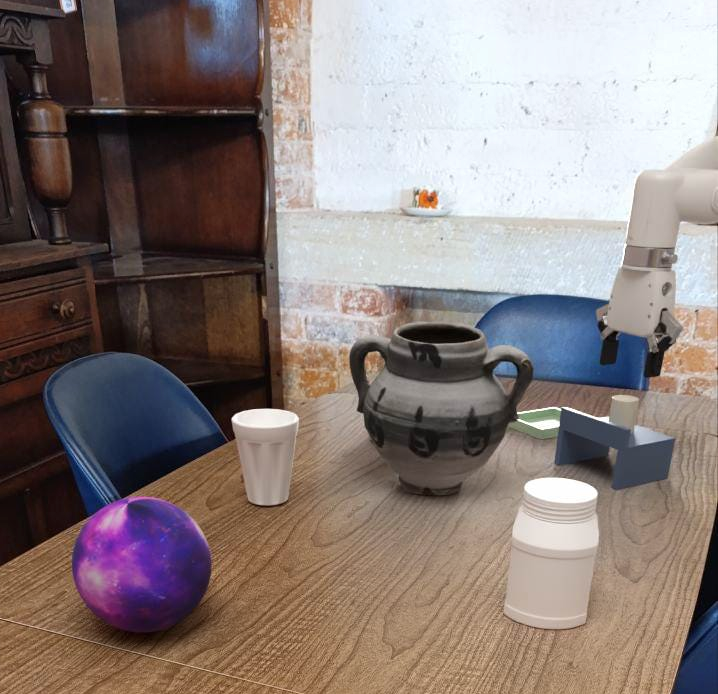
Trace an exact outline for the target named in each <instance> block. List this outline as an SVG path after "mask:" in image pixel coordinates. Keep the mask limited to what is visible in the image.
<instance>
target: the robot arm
mask: <svg viewBox="0 0 718 694" xmlns="http://www.w3.org/2000/svg"><path fill="white" fill-rule="evenodd" d="M682 222H683V223H688V224H695V225H713V224H718V135H716V136H713V137H712V138H709V139H708V140H705V141H703V142H701V143H699V144H697V145H695V146H694V147H692V148H691V149H689V150H687V151H686V152H685V153H684V154H682V155H681V156H679V158H677V159H676V160H674V161H673V162H671V163H670V164H669V165H668V166H667V167H666V168H664V169H644V170H642V171H640V172H639V173H638V174H637V175H636V177H635V179H634V184H633V191H632V196H631V203H630V210H629V216H628V223H627V229H626V234H625V241H624V248H623V255H622V261H621V265H619V267H618V269H617V272H616V275H615V278H614V281H613V284H612V289H611V293H610V298H609V303H606V304H605V305H602V306H601V307H599V308H597V309H596V310H595V316H596V320H597V328H598V331H599V333H600V335H599V337H600V338H599V339H600V340H602V344H601V349H600V350H601V352H600V356H599V357H600V358H599V365H601V366H609V365H614V364H616V363H617V357H618V352H619V351H618V350H619V346H620V339H618V337H619V336H620V335H621V333H622V334H626V335H630V336H635V337H639V338H646V340H647V343H648V345H649V348H650V351H647V354H646V358H645V364H644V370H643V378H646V379H649V378H657V377H660V376H661V373H662V369H663V363H664V357H665V352H668V351H669V350H670V348H671V347H672V346H673V345H675V343H676V342H677V339H678V338H679V336H680V335H681V333H682V332H683V329H684V326H683V325H682V323H680V321H679V320H677V319H676V318H675V317H674V312H675V306H676V305H675V303H676V291H677V282H676V281H677V275H676V270H673V269H672V268H673V264H677V262H678V258H679V256H678V255H677V254H676V253H675V252H676V246H677V242H678V241H677V240H678V236H679V230H680V224H681V223H682Z"/></svg>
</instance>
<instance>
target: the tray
mask: <svg viewBox="0 0 718 694" xmlns="http://www.w3.org/2000/svg"><path fill="white" fill-rule="evenodd" d="M517 413H518V415H519V419H518V420H517V421H516V422H514V423H509V424H508V427H507V428H510V429H513V430H516V431H518V432H520V433H523V434H526V435H528V436H531V437H532V438H536V439H538V440H547V439H552V438H558V430H559V422H560V414H561V408H558V407H557V406H551V407H546V408H540V409H534V410H527V411H521V412H517Z"/></svg>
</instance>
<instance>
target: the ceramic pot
mask: <svg viewBox="0 0 718 694" xmlns="http://www.w3.org/2000/svg"><path fill="white" fill-rule="evenodd" d="M374 352H378V353H379V354H380V357H381V358H382V359H383V360H384V365H383V368H381V370H380V371H379V373H378V374H377V376H376V377H375V378H374V380H373V381H372V382H371V383H370V381H369V380H368V377H367V369H366V358H367V356H368V354H369V353H374ZM501 363H512V364H513V365H514V367H515V370H516V378H515V382H514V383H513V386H512V389H511V391H510V392H509V394H508V395H507V393H506V390H505V388H504V386H503V384H502V382H501V381H500V380H499V379H498V378H497V376H496V375H495V374H494V371H495V369H496V368H497V367H498V366H499V365H500V364H501ZM534 369H535V368H534V365H533V362H532V360H531V358H530V357H529V356H528V354H526V352H524V351H523V350H521V349H519V348H517V347H515V346H513V345H507V344H505V345H502V344H499V345H496V346H492V347H491V348H489V345H488V342H487V339H486V336H485V333H484V332H483V331H482V330H481V329H478V328H477V327H474V326H471V325H467V324H464V323H458V322H453V321H416V322H408V323H406V324H403V325H400V326H399V327H397V328H395V329H394V330H393V333H392V336H391V338H389V337H386V336H382V335H377V334H367V335H365V336H363V337H360V338H358V339H357V340H356V341H355V342H354V343H353V345H352V346H351V348H350V351H349V370H350V374H351V379H352V382H353V384H354V386H355V389H356V392H357V397H358V402H357V408H356V412H358V413H360V414H363V416H362V417H363V423H364V428H365V430H366V431H367V434H368V435H369V436H368V437H370V440H371V442H372V444H373V446H374V447H375V449H376V451H377V453H378V454H379V457H381V459H383V461H384V462H385V464H386V465H387V466H388V467H389V468H390V469H391V471H392V472H394V473H395V474H396V475H397V476H398V480H399V483H400V486H401V487H402V489H403V490H404V491H406V492H408V493H411V494H414V495H422V496H446V495H451V494H454V493H456V492H458V491H459V490H460V489H461V488H462V485H463V481H465V480H466V479H468V478H469V477H470V476H472V475H473V474H475V473H477V472H478V471H479V470H480V469H481V468H482V467H484V465H486V463H487V462H488V461H489V460H490V459H491V457H492V456H493V455H494V453H495V451H496V450H497V449H498V447H500V444H501V442H502V441H503V439H504V437H505V436H506V432H507V429H508V428H509V427H508V424H509V423H514V422H516V421H517V420H518V419H519V415H518V413H519V412H518V411H517V407H518V405H519V404H520V402H521V400H523V397H524V395H525V393H526V392H527V390H528V388H529V386H530V385H531V383H532V381H533V377H534Z"/></svg>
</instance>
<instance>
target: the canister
mask: <svg viewBox="0 0 718 694" xmlns="http://www.w3.org/2000/svg"><path fill="white" fill-rule="evenodd" d="M610 401H611V402H610V406H609V407H610V409H609V413H608V414H609V415H608V416H609V420H608V422H611V423H614V424H617V425H620V426H623V427H626V428H629V429H631V432H630V434H631V433H633V432H634V428H635V425H636V421H637V417H638V416H637V415H638V411H639V410H638V409H639V404H640V398H639V397H637V396H633V395H629V394H615V395H613V396H611V400H610Z"/></svg>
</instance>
